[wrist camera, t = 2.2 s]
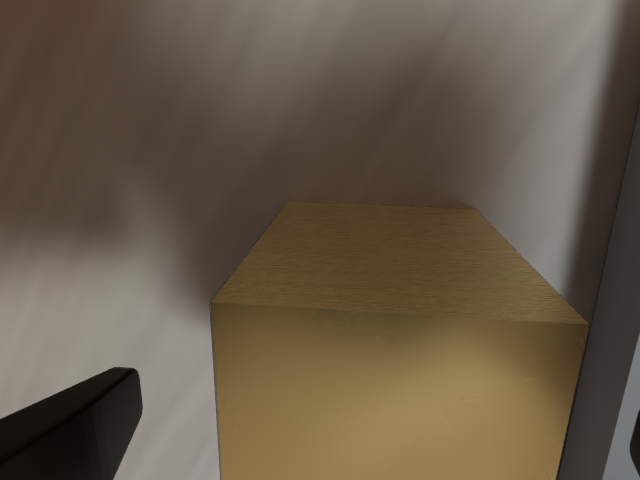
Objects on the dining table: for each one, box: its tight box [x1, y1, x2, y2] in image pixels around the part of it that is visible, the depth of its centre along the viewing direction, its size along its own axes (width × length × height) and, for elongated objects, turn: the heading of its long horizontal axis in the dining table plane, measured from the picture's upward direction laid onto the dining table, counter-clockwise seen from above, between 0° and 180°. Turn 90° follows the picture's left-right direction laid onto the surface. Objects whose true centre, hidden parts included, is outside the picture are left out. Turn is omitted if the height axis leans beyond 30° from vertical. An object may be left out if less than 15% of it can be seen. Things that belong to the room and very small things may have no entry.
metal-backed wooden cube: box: [210, 201, 589, 480], centre depth 10 cm, size 6×5×6 cm
